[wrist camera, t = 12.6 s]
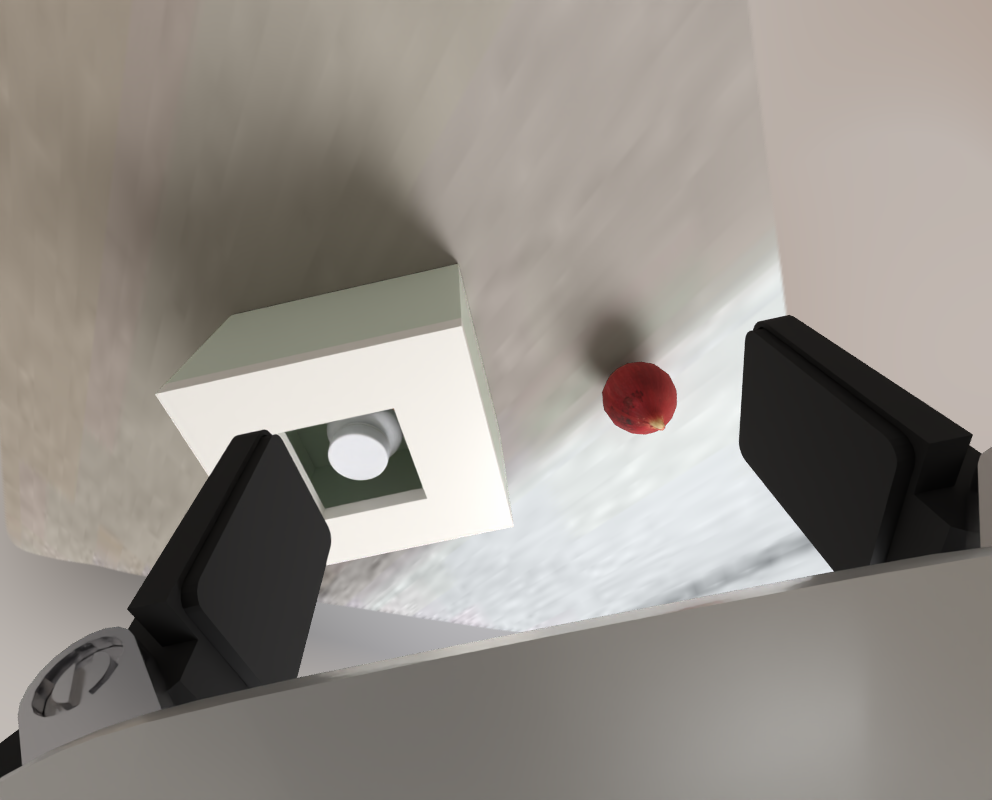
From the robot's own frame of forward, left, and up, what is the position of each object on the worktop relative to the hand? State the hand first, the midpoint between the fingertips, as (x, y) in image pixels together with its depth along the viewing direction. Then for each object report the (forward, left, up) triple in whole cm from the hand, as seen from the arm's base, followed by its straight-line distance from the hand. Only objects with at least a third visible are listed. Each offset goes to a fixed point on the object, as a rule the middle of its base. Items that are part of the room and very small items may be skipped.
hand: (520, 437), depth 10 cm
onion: (+18, +10, -31) cm, 37 cm away
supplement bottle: (+13, -11, -29) cm, 34 cm away
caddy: (+13, -11, -30) cm, 35 cm away
